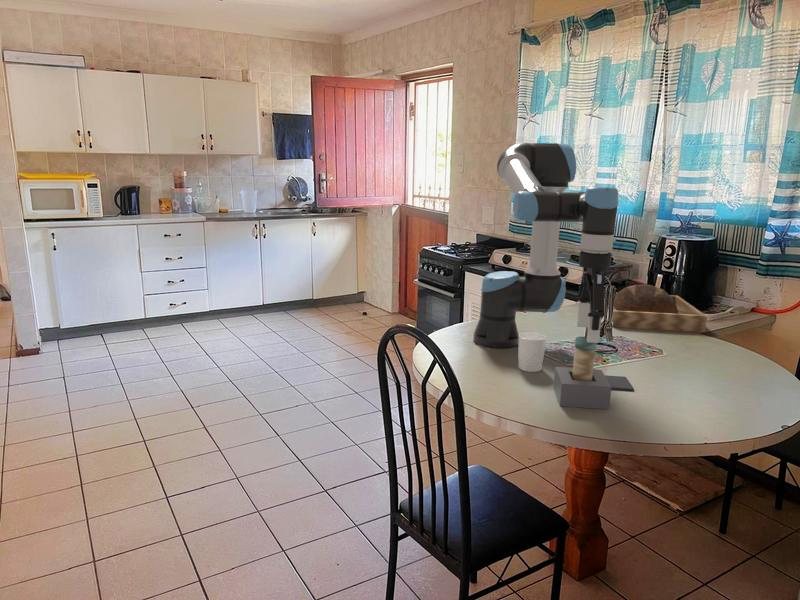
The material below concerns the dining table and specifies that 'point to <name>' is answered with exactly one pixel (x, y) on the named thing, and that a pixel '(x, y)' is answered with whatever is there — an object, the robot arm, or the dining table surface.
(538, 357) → the white cup
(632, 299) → the bread
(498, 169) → the robot arm
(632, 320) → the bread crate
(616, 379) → the mat
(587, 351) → the plug
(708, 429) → the dining table surface
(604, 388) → the socket
